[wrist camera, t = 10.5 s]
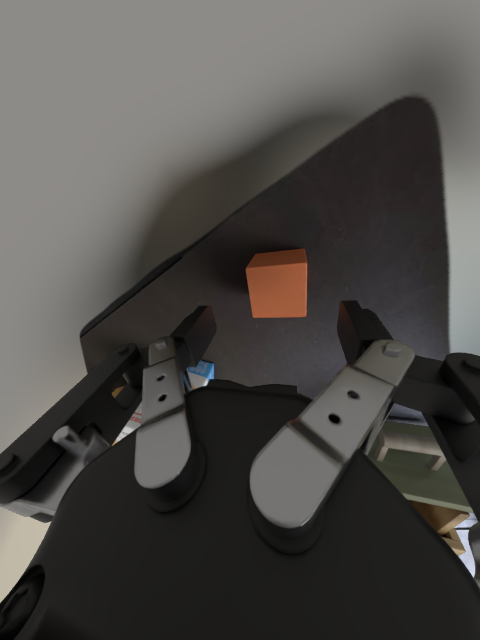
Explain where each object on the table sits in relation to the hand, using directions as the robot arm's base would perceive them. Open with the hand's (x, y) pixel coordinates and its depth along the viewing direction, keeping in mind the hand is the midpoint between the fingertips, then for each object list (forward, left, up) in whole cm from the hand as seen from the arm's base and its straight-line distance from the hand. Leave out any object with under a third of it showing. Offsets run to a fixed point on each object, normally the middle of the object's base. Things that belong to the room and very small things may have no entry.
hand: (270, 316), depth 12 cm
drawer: (-20, +21, -8) cm, 30 cm away
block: (0, 0, -9) cm, 9 cm away
